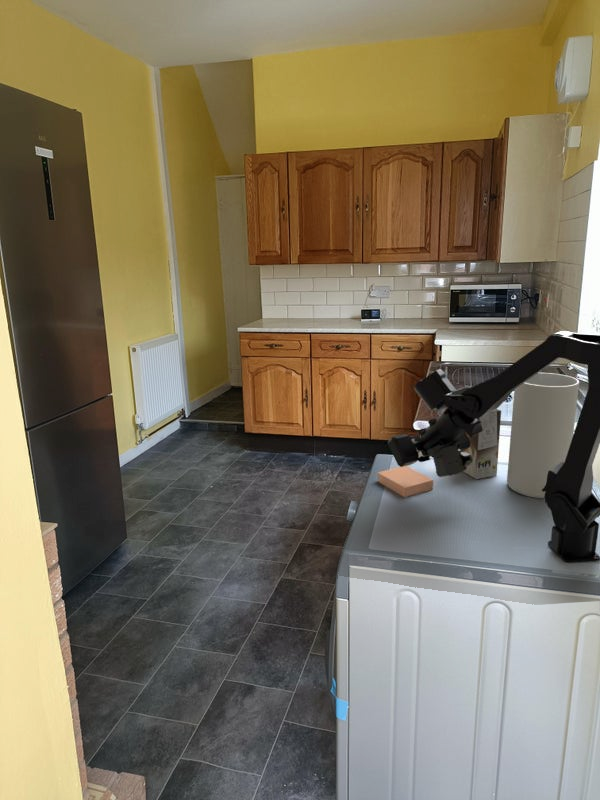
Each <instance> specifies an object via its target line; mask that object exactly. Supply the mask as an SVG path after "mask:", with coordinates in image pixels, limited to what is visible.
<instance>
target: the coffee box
mask: <svg viewBox="0 0 600 800" xmlns="http://www.w3.org/2000/svg"><path fill="white" fill-rule="evenodd" d="M501 417H502V410H500V409H499V408H497V409H496V410H494V411H492V412H490V413H488V414H486V415H484V416H482V417H479V418H477V420H480V421H481V426H482V429H483V431H482V432H480V433H479V434H477V435H475V436H473V437H469V436H468V434H467V433H466V434H467V436H468V438H469V439H470V447H469V448H468V449H467V450H466V451H462V452H466V453H468V454H470V455H471V456H472V460H473V461H472V462H471V464H470V465H469V466H466V467H467V469H466V470H465V471H463V472H464V473H465V474H467V475H468V476H470V477H472V478H473V479H475V480H479V479H484V478H488V477H490V478H491V477H494V476H497V474H498V463H499V462H498V461H499V447H500V434H501V433H500V432H501V431H500V430H501ZM463 472H462V473H463Z"/></svg>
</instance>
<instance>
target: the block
mask: <svg viewBox="0 0 600 800" xmlns="http://www.w3.org/2000/svg"><path fill="white" fill-rule="evenodd" d="M377 482H378V483H380V484H381V485H383V486H385V487H386V488H388V489H390V490H392V491H394V492H395V493H397V494H399V495H400V496H402V497H403V498H408V497H411V496H415V495H417V494H421V493H424V492H425V493H426V492H427V491H432V490H433V489H434V479H432V478H430V477H428V476H427V475H424V474H422V473H420V472H419V471H416V470H415V469H412V468H410V467H409V466H404V467H400V466H398V467H394V468H390V469H386V470H383V471H378V472H377ZM431 489H432V490H431Z"/></svg>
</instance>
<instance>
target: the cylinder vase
mask: <svg viewBox="0 0 600 800" xmlns="http://www.w3.org/2000/svg"><path fill="white" fill-rule="evenodd" d="M579 385H580V380H578V378H575V377H573V376H570V375H566V374H560V373H551V372H539V373H538V374H536V375H535V376H533V377H532V378H530V379H529V380H527V381H526V382H524V383H523V384H522V385H520V386H519V387H517V388H516V389H515V390H514V391H513V402H512V412H511V413H512V415H511V426H510V439H509V449H508V462H507V463H508V464H507V475H506V476H507V477H506V482H507V485H508V487H509V488H510V489H511V490H512V491H514V492H516V493H517V494H520V495H522V496H526V497H531V498H536V499H544V495H545V492H546V491H544V492H543V491H542V489H543V488H544V487H545V485H546V482H547V475H548V471H549V470H550V469H552V468H553V467H554V466H556V465H557V464H558V463H560V462H561V461H562V462H565V459H566V456H567V453H568V450H569V447H570V444H571V441H572V437H573V434H574V431H575V425H576V424H575V422H576V421H575V420H576V412H577V405H578V395H579V388H580V386H579Z"/></svg>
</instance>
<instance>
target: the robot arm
mask: <svg viewBox="0 0 600 800" xmlns="http://www.w3.org/2000/svg"><path fill="white" fill-rule="evenodd" d="M561 358H562V359H566V360H568V361H570V362H574V363H576V364H581V365H587V369H586V371H587V381H588V382H587V383H588V389H587V392H586V395H585V397H584V401H583V404H582V406H581V409H580V413H579V417H578V420H577V422H576V424H575V425H576V426H575V427H574V432H573V437H572V441H571V444H570V447H569V450H568V453H567V456H566V459H565V462H562V461H561V462H560V463H558V464H557V465H556V466H554V467H553V468H552V469H550V470H549V471H548V475H547V482H546V485H545V487H544V488H543V489H542V491H543V492H544V491H546V492H545V495H544V498H543V499H544V504H546V506H547V508H549V510H550V513H551V516H552V521H553V524H554V525H552V526H551V527H552V528H551V536H550V540H549V541H548V542H547V545H548V546H549V547H550V548H551V549H552V550H553V551H554V552H555V553H556V555H558V556H559V558H560V559H561V560H563V562H565V563H575V562H592V561H600V555H599V554H598V553H597V552H596V551H597V543H598V536H599V528H600V523H599V522H597V521H596V519H597V518H599V517H600V501H599V498H597V497H596V495H595V494H594V493H593V486H594V485H593V484H594V472H593V466H594V465H593V464H594V461H595V458H596V457H597V456H596V454H597V453H598V450H599V446H600V334H596V333H595V334H594V333H593V334H592V333H578V332H573V331H572V332H571V331H567V330H560V331H558V332H555V333H552V334H550V335H548V336H547V337H546V339H545V340H544V341H543V342H542V343H540V344H539V345H537V346H536V347H534V348H533V349H532V350H531V351H529V352H527V353H526V354H525V355H523V356H522V357H520V358H519V359H518V360H516V361H515V362H514V363H512V364H511V365H510V366H508V367H507V368H506V369H504V370H502V371H501V372H499V373H498V374H497V375H496V376H493V377H491V378H489V379H487V380H485V381H483V382H480V383H478V384H476V385H473V386H471V387H461V388H459V389H457V388H456V387H455V386H454V385H453V384H452V382H450V380H449V379H448V377H447V375H446V374H445V372H444V371H443V370H442V369H441V368H440V369H436V370H434V371H433V372H432V373H430V374H429V375H428V376H426V377H424V378H423V379H421V380H419V381H418V382H417V383H416V384H415V385H414V386H413V390H414V391H415V392H416V394H417V395H418V397H419V398H420V399H421V401H423V403H424V404H425V405H426V406H427V408H428V409H429V411H431V412H433V411H435V410H436V411H437V412H441V411H442V410H444V409H445V408H446V409H445V410H444V411H443V412H442V413H441V414H440V415H439V416H437V417H436V418H431V419H429V420H428V422H427V423H428V426H427V427H424V428H420V429H419V430H418V433H419V434H418V435H412V436H410V435H409V434H407V433H402V434H398V435H394V436H391V438H390V439H388V441H387V446H388V447H389V450H390V452H391V453H392V456H393V458H394V460H395V462H396V464H397V465H398V467H404V466H407V467H409V466H410V465H411V466H412V465H413V464H415V463H417V462H420V463H425V462H427V461H431V458H432V459H433V463H434V467H435V473H436V476H437V477H438V478H442V477H443V478H445V477H452V476H454V475H458V474H462V473H463V471H465V470H466V469H467V467H466V466H469V465H470V464H471V462H472V461H473V460H472V456H471V455H470V454H468V453H466V452H462V451H466V450H467V449H468V448H469V447H470V439H469V438H468V436H469V437H473V436H475V435H477V434H479V433H480V432H482V431H483V429H482V426H481V421H480V420H477V418H479V417H482V416H484V415H486V414H488V413H490V412H492V411H494V410H496V409H499V407H501V405H502V404H503V403H504V402H505V401H507V399H508V398H509V397H510V395H511V394H512V393H514V390H515V389H516V388H517V387H519V386H520V385H522V384H523V383H524V382H526V381H527V380H529V379H530V378H532V377H533V376H535V375H536V374H538V373H542V371H544V370H545V369H547V368H548V367H550V366H551V365H552V364H554V363H555V362H557V361H559V360H560V359H561ZM466 433H467V434H468V436H467V434H466Z"/></svg>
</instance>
